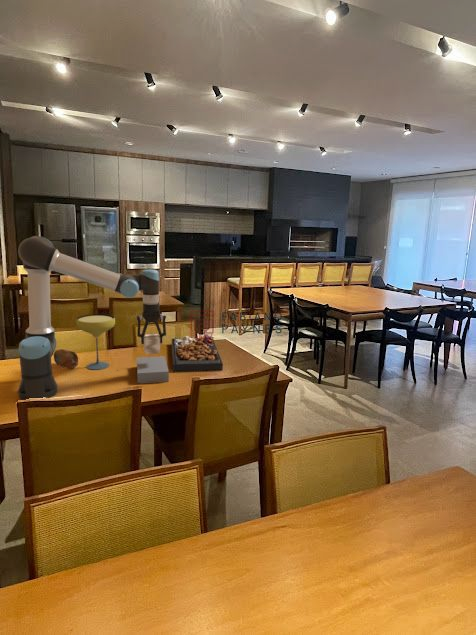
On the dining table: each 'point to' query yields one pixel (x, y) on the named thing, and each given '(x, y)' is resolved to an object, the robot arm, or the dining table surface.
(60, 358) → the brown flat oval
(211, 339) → the food platter
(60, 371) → the dining table surface
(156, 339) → the cream block
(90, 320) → the cocktail glass
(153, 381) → the slate block
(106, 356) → the dining table surface
